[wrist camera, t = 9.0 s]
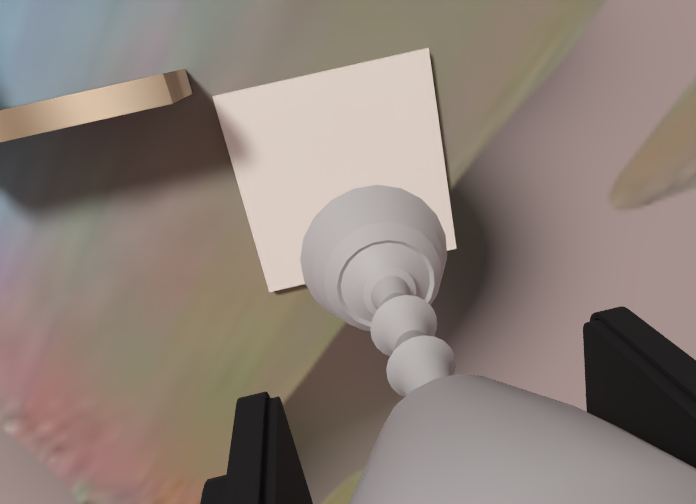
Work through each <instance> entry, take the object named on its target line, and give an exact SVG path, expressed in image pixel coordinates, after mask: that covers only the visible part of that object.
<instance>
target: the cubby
mask: <svg viewBox="0 0 696 504" xmlns="http://www.w3.org/2000/svg"><path fill="white" fill-rule="evenodd" d="M191 94H193V93H192V90H191V87H190V84H189V80H188V77H187V74H186V71H185V69H183V70H178V71H174V72H169V73H165V74H160V75H156V76H151V77H147V78H142V79H138V80H133V81H129V82H124V83H120V84H115V85H111V86H106V87H102V88H97V89H93V90H89V91H84V92H80V93H75V94H71V95H66V96H62V97H57V98H53V99H48V100H44V101H39V102H35V103H30V104H26V105H21V106H17V107H12V108H8V109H3V110H0V142H4V141H9V140H13V139H18V138H22V137H26V136H31V135H35V134H40V133H44V132H49V131H53V130H58V129H62V128H67V127H71V126H76V125H80V124H84V123H89V122H93V121H98V120H102V119H107V118H111V117H116V116H120V115H125V114H129V113H134V112H138V111H142V110H147V109H151V108H156V107H160V106H165V105H169V104H173V103H175V102H177V101H179V100H181V99H183V98H185V97H187V96H189V95H191Z"/></svg>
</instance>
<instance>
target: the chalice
mask: <svg viewBox="0 0 696 504" xmlns="http://www.w3.org/2000/svg"><path fill="white" fill-rule="evenodd" d="M446 259H447V247H446V235H445V232H444V230H443V228H442V226H441V223H440V221H439V219H438V217H437V215H436V214H435V212H434V211H433V210H432V209H431V208H430V207H429V206H428V205H427V204H426V203H425V202H424V201H423V200H422V199H421V198H419V197H417V196H415V195H413V194H411V193H409V192H407V191H405V190H403V189H402V188H396V187H390V186H383V185H373V186H367V187H361V188H355V189H352V190H350V191H348V192H346V193H344V194H342V195H340V196H338V197H336V198H334V199H332V200H331V201H330V202H329V203H328V204H327V205H326V206H325V207H324V208H323V209H322V210H321V211H320V212H319V213H318V214H317V215H316V216H315V217H314V218H313V220H312V222H311V224H310V226H309V228H308V230H307V232H306V234H305V236H304V238H303V244H302V251H301V258H300V262H301V267H302V273H303V278H304V282H305V284H306V286H307V287H308V289H309V291H310V292H311V294H312V296H313V298H314V299H315V301H317V302H318V303H319V304H320V305H321V306H322V307H323V308H325V309H326V310H327V311H328V312H329V313H330V314H332V315H334V316H337V317H338V318H339V319H341V320H344V321H346V322H347V323H348V324H350V325H353V326H355V327H358V328H360V329H362V330H368V331H371V337H372V340H373V342H374V344H375V346H376V347H377V348H378V349H379V350H380V351H381V352H382V353H384V354H386V355H388V356H391V357H390V359H389V360H388V365H387V379H388V381H389V383H390V385H391V387H392V388H393V389H394V390H395V391H396V392H397V393H398V394H400V395H402V396H404V397H405V398H404V399H403V400H401V401H400V402H399V403H398V404H397V405H396V406H395V407H394V409H393V411H392V412H391V414H390V415H389V417H388V419H387V421H386V422H385V424H384V426H383V428H382V430H381V432H380V434H379V437H378V439H377V441H376V444H375V446H374V448H373V450H372V453H371V455H370V457H369V460H368V462H367V464H366V467H365V469H364V471H363V473H362V476H361V478H360V480H359V482H358V485H357V487H356V489H355V492H354V494H353V496H352V498H351V501H350V503H349V504H696V468H694V467H692V466H690V465H689V464H687V463H685V462H683V461H681V460H679V459H677V458H675V457H673V456H672V455H670V454H668V453H666V452H664V451H662V450H660V449H658V448H657V447H655V446H653V445H651V444H649V443H647V442H645V441H643V440H641V439H640V438H638V437H636V436H634V435H632V434H630V433H628V432H626V431H625V430H623V429H621V428H619V427H617V426H615V425H613V424H611V423H609V422H606V421H604V420H602V419H600V418H598V417H596V416H594V415H592V414H590V413H588V412H585V411H583V410H581V409H579V408H577V407H575V406H572V405H569V404H566V403H563V402H560V401H557V400H554V399H551V398H548V397H545V396H541V395H538V394H535V393H532V392H529V391H526V390H523V389H520V388H517V387H514V386H511V385H507V384H505V383H502V382H499V381H496V380H493V379H489V378H486V377H483V376H475V375H464V374H457V375H453V374H454V371H455V356H454V354H453V351H452V349H451V348H450V347H449V346H448V345H447V344H446V342H445V341H443V340H441V339H438V338H436V337H434V336H435V333H436V328H437V319H436V315H435V312H434V310H433V308H432V307H431V306H430V305H431V304H432V302H433V301H434V299H435V297H436V296H437V294H438V290H439V286H440V282H441V278H442V275H443V271H444V267H445V263H446Z"/></svg>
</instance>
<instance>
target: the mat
mask: <svg viewBox="0 0 696 504" xmlns="http://www.w3.org/2000/svg"><path fill="white" fill-rule="evenodd" d="M212 97H213V100H214V104H215V107H216V111H217V114H218V118H219V121H220V124H221V128H222V131H223V135H224V138H225V142H226V145H227V148H228V152H229V155H230V159H231V162H232V165H233V169H234V172H235V176H236V179H237V183H238V186H239V189H240V193H241V196H242V200H243V203H244V207H245V210H246V213H247V217H248V220H249V224H250V227H251V231H252V234H253V237H254V241H255V244H256V248H257V251H258V255H259V258H260V261H261V265H262V268H263V272H264V275H265V279H266V282H267V285H268V289H269V292H273V291H277V290H282V289H286V288H290V287H294V286H299V285H303V284H305V282H304V278H303V273H302V267H301V262H300V258H301V251H302V244H303V238H304V236H305V234H306V232H307V230H308V228H309V226H310V224H311V222H312V220H313V218H314V217H315V216H316V215H317V214H318V213H319V212H320V211H321V210H322V209H323V208H324V207H325V206H326V205H327V204H328V203H329V202H330V201H331V200H332V199H334V198H336V197H338V196H340V195H342V194H344V193H346V192H348V191H350V190H352V189H355V188H361V187H367V186H373V185H383V186H390V187H396V188H402V189H403V190H405V191H407V192H409V193H411V194H413V195H415V196H417V197H419V198H421V199H422V200H423V201H424V202H425V203H426V204H427V205H428V206H429V207H430V208H431V209H432V210H433V211H434V212H435V214H436V215H437V217H438V219H439V221H440V223H441V226H442V228H443V230H444V232H445V235H446V247H447V251H448V250H453V249H456V241H455V234H454V227H453V219H452V212H451V205H450V198H449V191H448V183H447V176H446V169H445V162H444V155H443V147H442V140H441V133H440V126H439V119H438V111H437V104H436V97H435V90H434V83H433V75H432V68H431V61H430V54H429V48H423V49H419V50H414V51H410V52H406V53H401V54H397V55H392V56H388V57H383V58H379V59H374V60H370V61H365V62H361V63H356V64H352V65H348V66H343V67H339V68H334V69H330V70H325V71H321V72H316V73H312V74H307V75H303V76H298V77H294V78H290V79H285V80H281V81H276V82H272V83H267V84H263V85H258V86H254V87H249V88H245V89H240V90H236V91H232V92H227V93H223V94H218V95H214V96H212Z"/></svg>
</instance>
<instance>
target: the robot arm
mask: <svg viewBox="0 0 696 504" xmlns="http://www.w3.org/2000/svg"><path fill="white" fill-rule="evenodd" d="M583 338H584V358H585V380H586V403H587V412H588V413H590V414H592V415H594V416H596V417H598V418H600V419H602V420H604V421H606V422H609V423H611V424H613V425H615V426H617V427H619V428H621V429H623V430H625V431H626V432H628V433H630V434H632V435H634V436H636V437H638V438H640V439H641V440H643V441H645V442H647V443H649V444H651V445H653V446H655V447H657V448H658V449H660V450H662V451H664V452H666V453H668V454H670V455H672V456H673V457H675V458H677V459H679V460H681V461H683V462H685V463H687V464H689V465H690V466H692V467H694V468H696V360H694V359H693V358H692V357H690V356H689V355H688V354H686V353H685V352H684V351H683V350H681V349H680V348H679V347H677V346H676V345H675V344H673V343H672V342H671V341H669V340H668V339H667V338H665V337H664V336H663V335H661V334H660V333H659V332H657V331H656V330H655V329H654V328H652V327H651V326H649V325H648V324H647V323H646V322H644V321H643V320H642V319H641V318H639V317H638V316H637V315H635V314H634V313H633V312H631V311H630V310H629V309H627V308H625V307H617V308H613V309H609V310H604V311H600V312H596V313H594V314H592V316H591V318H590V322H587V323H585V324H584V326H583ZM200 504H313V503H312V499H311V496H310V493H309V489H308V486H307V483H306V480H305V477H304V473H303V470H302V467H301V463H300V460H299V457H298V454H297V451H296V447H295V444H294V441H293V437H292V434H291V431H290V428H289V425H288V421H287V418H286V415H285V412H284V408H283V405H282V402H281V399H280V397H275V398H270V396H269V394H268V393H267V392H262V393H258V394H254V395H250V396H246V397H241V398H239V399H238V400H237V404H236V411H235V418H234V425H233V433H232V440H231V447H230V454H229V461H228V468H227V475H224V476H220V477H216V478H212V479H208V480H207V481H206V483H205V485H204V488H203V493H202V498H201V503H200Z"/></svg>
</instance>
